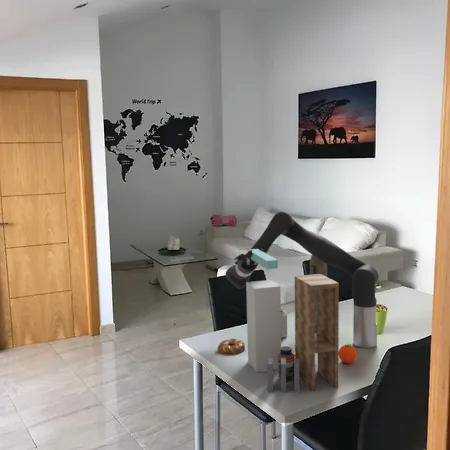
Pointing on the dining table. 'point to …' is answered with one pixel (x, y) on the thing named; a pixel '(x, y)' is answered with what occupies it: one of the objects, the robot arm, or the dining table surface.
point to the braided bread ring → (231, 346)
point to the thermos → (317, 268)
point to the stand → (326, 328)
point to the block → (264, 259)
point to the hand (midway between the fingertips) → (257, 252)
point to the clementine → (347, 353)
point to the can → (283, 323)
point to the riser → (263, 323)
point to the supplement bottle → (286, 353)
